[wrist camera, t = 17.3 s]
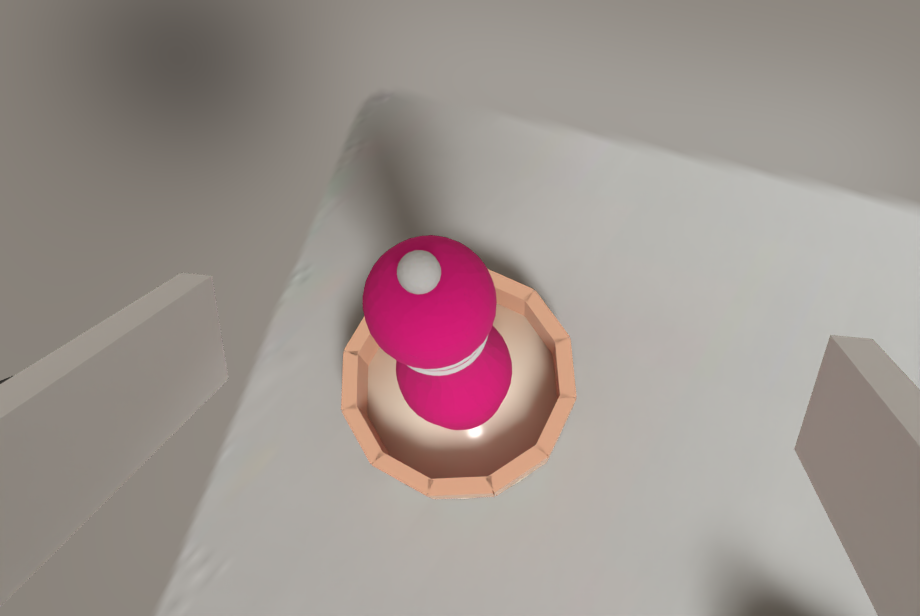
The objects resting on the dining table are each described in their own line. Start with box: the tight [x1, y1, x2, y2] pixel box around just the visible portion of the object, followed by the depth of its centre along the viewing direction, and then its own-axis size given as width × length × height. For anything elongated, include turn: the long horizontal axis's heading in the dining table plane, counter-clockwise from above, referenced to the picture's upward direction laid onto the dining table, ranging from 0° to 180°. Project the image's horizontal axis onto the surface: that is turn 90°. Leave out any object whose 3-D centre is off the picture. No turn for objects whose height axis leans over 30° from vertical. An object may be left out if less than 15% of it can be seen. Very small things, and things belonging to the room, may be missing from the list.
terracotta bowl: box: [341, 269, 576, 499], centre depth 41 cm, size 15×15×4 cm
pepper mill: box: [363, 235, 512, 430], centre depth 33 cm, size 7×7×20 cm
